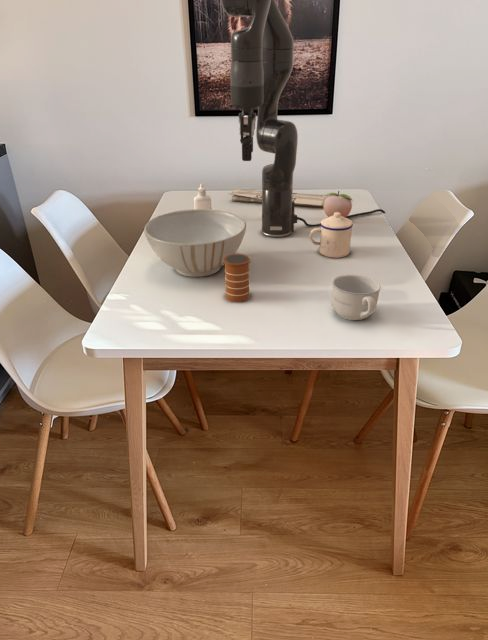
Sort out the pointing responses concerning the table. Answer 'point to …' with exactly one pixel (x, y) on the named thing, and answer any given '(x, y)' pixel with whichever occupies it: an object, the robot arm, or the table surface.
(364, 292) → the teacup
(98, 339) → the table surface
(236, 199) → the newspaper
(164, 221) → the decorative bowl
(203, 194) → the eye dropper bottle
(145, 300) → the table surface
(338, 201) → the decorative fruit
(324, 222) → the teacup with lid
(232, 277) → the brown striped cylinder
